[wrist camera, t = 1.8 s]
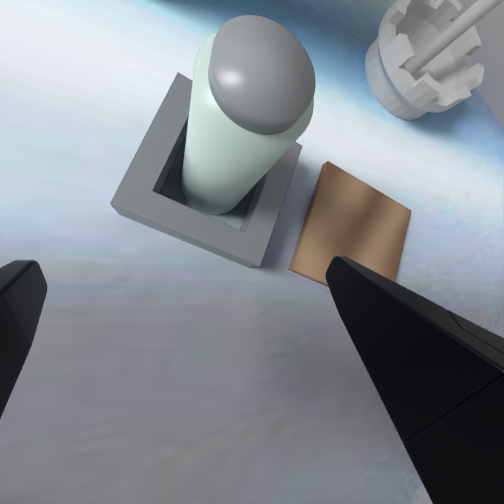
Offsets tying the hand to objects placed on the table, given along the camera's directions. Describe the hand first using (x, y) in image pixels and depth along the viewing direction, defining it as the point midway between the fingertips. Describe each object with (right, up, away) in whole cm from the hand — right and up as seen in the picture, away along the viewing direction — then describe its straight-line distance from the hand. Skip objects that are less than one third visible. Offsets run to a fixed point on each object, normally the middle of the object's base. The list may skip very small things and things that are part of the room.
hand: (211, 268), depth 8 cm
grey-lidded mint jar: (-2, +7, +14) cm, 16 cm away
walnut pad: (+12, +2, +18) cm, 22 cm away
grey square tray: (-2, +7, +14) cm, 16 cm away
